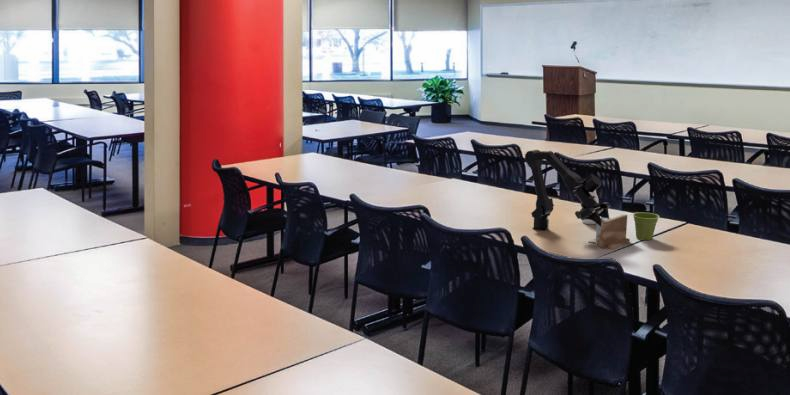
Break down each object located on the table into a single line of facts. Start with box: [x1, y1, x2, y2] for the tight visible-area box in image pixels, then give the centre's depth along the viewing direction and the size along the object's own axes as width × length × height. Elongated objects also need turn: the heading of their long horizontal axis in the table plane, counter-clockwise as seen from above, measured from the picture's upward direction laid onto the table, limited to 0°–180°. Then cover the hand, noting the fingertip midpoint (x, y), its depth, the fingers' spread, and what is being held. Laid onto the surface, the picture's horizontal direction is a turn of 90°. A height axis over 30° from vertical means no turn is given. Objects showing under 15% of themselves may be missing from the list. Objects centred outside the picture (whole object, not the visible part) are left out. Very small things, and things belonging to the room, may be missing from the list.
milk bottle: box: [581, 189, 600, 225], centre depth 368 cm, size 8×8×20 cm
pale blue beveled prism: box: [595, 217, 611, 241], centre depth 334 cm, size 5×5×10 cm
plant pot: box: [632, 211, 660, 241], centre depth 339 cm, size 12×12×11 cm
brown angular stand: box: [588, 214, 631, 250], centre depth 332 cm, size 14×20×12 cm
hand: (606, 225), depth 333 cm, fingers open, 6 cm apart
